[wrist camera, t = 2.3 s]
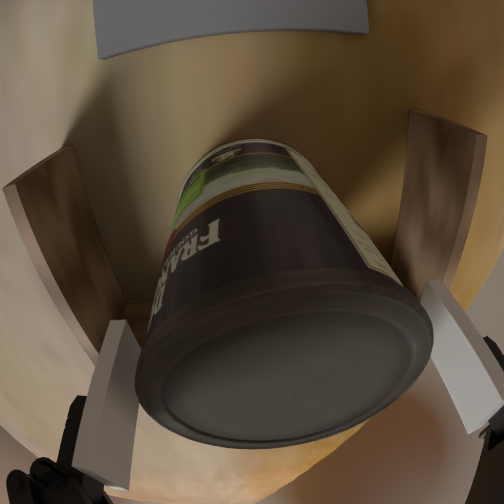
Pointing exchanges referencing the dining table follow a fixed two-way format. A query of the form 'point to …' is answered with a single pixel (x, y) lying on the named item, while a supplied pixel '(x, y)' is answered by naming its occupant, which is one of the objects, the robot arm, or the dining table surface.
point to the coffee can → (273, 309)
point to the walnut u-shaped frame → (138, 314)
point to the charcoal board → (216, 20)
